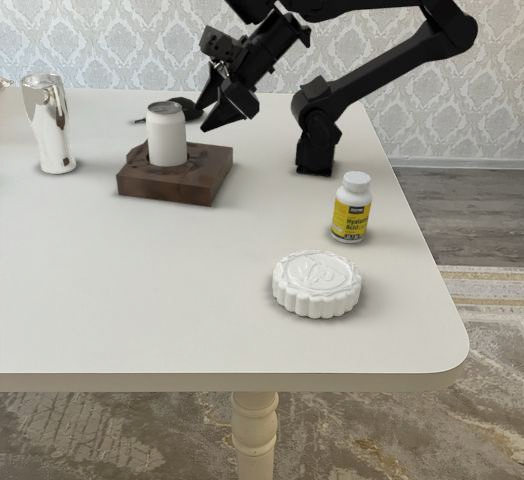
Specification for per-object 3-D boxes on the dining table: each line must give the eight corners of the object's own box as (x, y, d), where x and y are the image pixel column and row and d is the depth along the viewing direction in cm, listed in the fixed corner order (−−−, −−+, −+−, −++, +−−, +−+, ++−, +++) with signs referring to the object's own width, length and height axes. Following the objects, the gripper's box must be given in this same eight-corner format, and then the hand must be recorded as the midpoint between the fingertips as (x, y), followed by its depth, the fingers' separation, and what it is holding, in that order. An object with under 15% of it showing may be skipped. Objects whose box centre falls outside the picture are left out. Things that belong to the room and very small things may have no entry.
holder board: (233, 165, 109) (233, 146, 107) (210, 207, 97) (209, 187, 95) (144, 154, 111) (142, 135, 109) (112, 193, 99) (109, 174, 97)
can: (191, 181, 104) (188, 112, 96) (155, 186, 102) (149, 116, 94) (183, 165, 108) (179, 98, 100) (148, 169, 106) (141, 101, 98)
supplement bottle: (342, 247, 90) (351, 188, 83) (323, 230, 93) (331, 172, 87) (371, 239, 92) (383, 181, 85) (352, 223, 95) (361, 165, 89)
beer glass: (68, 177, 103) (50, 88, 93) (31, 172, 104) (10, 84, 94) (85, 160, 108) (70, 74, 98) (49, 156, 109) (31, 70, 99)
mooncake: (253, 292, 81) (254, 270, 78) (308, 257, 87) (310, 236, 85) (323, 332, 75) (326, 310, 72) (376, 291, 82) (380, 270, 79)
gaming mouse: (131, 117, 124) (129, 97, 121) (198, 109, 129) (198, 90, 126) (138, 128, 120) (136, 108, 117) (208, 120, 124) (207, 100, 122)
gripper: (221, -8, 96) (158, 66, 101) (239, 23, 82) (165, 107, 88) (267, 44, 102) (205, 111, 108) (290, 80, 89) (219, 155, 94)
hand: (198, 119), depth 99 cm, fingers open, 9 cm apart
